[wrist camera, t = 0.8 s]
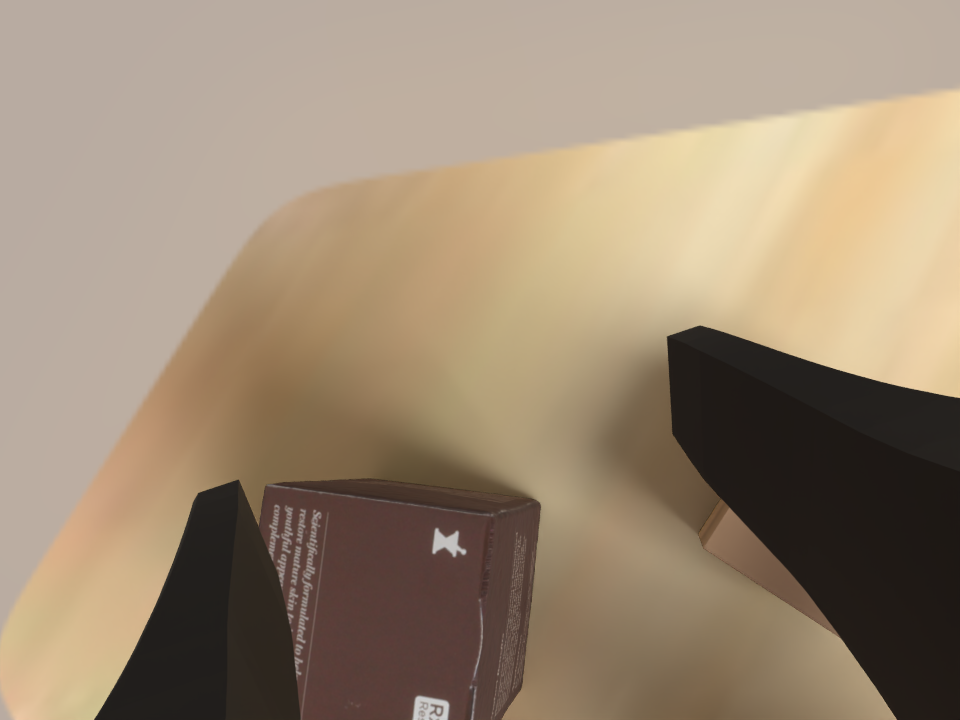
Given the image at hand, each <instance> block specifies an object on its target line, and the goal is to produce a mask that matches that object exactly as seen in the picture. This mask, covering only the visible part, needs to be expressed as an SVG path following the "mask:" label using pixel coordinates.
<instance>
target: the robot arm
mask: <svg viewBox="0 0 960 720" xmlns="http://www.w3.org/2000/svg"><path fill="white" fill-rule="evenodd" d="M667 344H668V361H669V379H670V397H671V415H672V432H673V435H674V437H675V438H676V440H677V441H678V443H679V444H680V446H681V447H682V449H683V450H684V452H685V453H686V455H687V456H688V458H689V459H690V461H691V462H692V463H693V465H694V466H695V468H696V469H697V470H698V472H699V473H700V475H701V476H702V477H703V479H704V480H705V481H706V482H707V483H708V484H709V486H710V487H711V488H712V489H713V490H714V491H715V492H716V493H717V494H718V496H719V497H720V498H721V499H722V500H723V501H724V502H725V503H726V504H727V505H728V506H729V508H730V509H731V510H732V511H733V512H734V513H735V514H736V515H737V516H738V517H739V518H740V519H741V521H742V522H743V523H744V524H745V525H746V526H747V527H748V528H749V529H750V530H751V531H752V532H753V533H754V534H755V535H756V537H757V538H758V539H759V540H760V541H761V542H762V543H763V544H764V545H765V546H766V547H767V548H768V549H769V550H770V552H771V553H772V554H773V555H774V556H775V557H776V558H777V559H778V560H779V561H780V562H781V563H782V564H783V565H784V567H785V568H786V569H787V570H788V571H789V572H790V573H791V574H792V576H793V577H794V578H795V579H796V580H797V581H798V583H799V584H800V585H801V586H802V587H803V588H804V590H805V591H806V592H807V593H808V595H809V596H810V597H811V599H812V600H813V601H814V603H815V604H816V605H817V607H818V608H819V609H820V611H821V612H822V613H823V615H824V616H825V617H826V619H827V620H828V621H829V623H830V624H831V625H832V627H833V628H834V629H835V631H836V632H837V633H838V635H839V636H840V637H841V639H842V640H843V642H844V643H845V644H846V646H847V647H848V649H849V650H850V652H851V653H852V654H853V656H854V657H855V659H856V660H857V661H858V663H859V664H860V666H861V667H862V669H863V670H864V671H865V673H866V674H867V676H868V677H869V678H870V680H871V681H872V683H873V684H874V686H875V687H876V688H877V690H878V691H879V693H880V694H881V696H882V697H883V699H884V700H885V702H886V704H887V705H888V707H889V708H890V710H891V711H892V713H893V714H894V716H895V717H896V719H897V720H960V398H955V397H949V396H944V395H939V394H934V393H929V392H924V391H919V390H914V389H909V388H905V387H900V386H896V385H892V384H887V383H883V382H879V381H876V380H872V379H868V378H865V377H861V376H857V375H854V374H850V373H847V372H843V371H840V370H836V369H833V368H830V367H826V366H823V365H820V364H817V363H814V362H810V361H807V360H804V359H801V358H798V357H795V356H792V355H789V354H786V353H783V352H780V351H777V350H774V349H771V348H769V347H766V346H763V345H760V344H757V343H754V342H751V341H748V340H745V339H742V338H739V337H736V336H733V335H730V334H727V333H724V332H721V331H718V330H715V329H711V328H707V327H704V326H697V327H694V328H691V329H688V330H685V331H682V332H679V333H676V334H673V335H670V336H667ZM94 720H301V716H300V706H299V697H298V687H297V677H296V667H295V658H294V648H293V639H292V632H291V627H290V623H289V618H288V614H287V609H286V605H285V601H284V596H283V592H282V588H281V584H280V579H279V575H278V573H277V570H276V568H275V566H274V563H273V561H272V558H271V556H270V553H269V551H268V549H267V546H266V544H265V541H264V539H263V537H262V534H261V532H260V529H259V527H258V525H257V522H256V520H255V517H254V515H253V513H252V510H251V508H250V505H249V503H248V501H247V498H246V496H245V493H244V491H243V489H242V486H241V484H240V481H239V480H236V481H233V482H230V483H227V484H224V485H221V486H218V487H215V488H212V489H209V490H206V491H203V492H200V493H198V495H197V497H196V498H195V500H194V502H193V505H192V508H191V512H190V515H189V518H188V521H187V524H186V527H185V530H184V533H183V536H182V539H181V542H180V545H179V548H178V550H177V553H176V556H175V559H174V561H173V564H172V566H171V569H170V571H169V574H168V576H167V579H166V581H165V584H164V586H163V589H162V591H161V593H160V596H159V598H158V601H157V603H156V605H155V607H154V610H153V612H152V614H151V616H150V618H149V620H148V622H147V624H146V626H145V628H144V631H143V633H142V635H141V637H140V639H139V641H138V643H137V645H136V647H135V649H134V651H133V653H132V655H131V657H130V659H129V661H128V663H127V665H126V666H125V668H124V670H123V672H122V674H121V676H120V677H119V679H118V681H117V683H116V684H115V686H114V688H113V690H112V691H111V693H110V695H109V696H108V698H107V700H106V701H105V703H104V705H103V706H102V708H101V710H100V711H99V713H98V715H97V716H96V718H95V719H94Z"/></svg>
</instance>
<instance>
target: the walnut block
mask: <svg viewBox="0 0 960 720" xmlns="http://www.w3.org/2000/svg"><path fill="white" fill-rule="evenodd" d="M698 535H699V537H700V540H701V543H702V546H703V548H704V549H705V550H707V551H708V552H710V553H711V554H713V555H715V556H716V557H718V558H719V559H721V560H722V561H724V562H725V563H727V564H728V565H730V566H731V567H733V568H734V569H736V570H737V571H739V572H741V573H742V574H744V575H745V576H747V577H748V578H750V579H751V580H753V581H754V582H756V583H757V584H759V585H760V586H762V587H763V588H765V589H767V590H768V591H770V592H771V593H773V594H774V595H776V596H777V597H779V598H780V599H782V600H783V601H785V602H786V603H788V604H789V605H791V606H793V607H794V608H796V609H797V610H799V611H800V612H802V613H803V614H805V615H806V616H808V617H809V618H811V619H812V620H814V621H815V622H817V623H819V624H820V625H822V626H823V627H825V628H826V629H828V630H829V631H831V632H832V633H834V634H835V635H837V636H838V637H840V636H839V635H838V633H837V632H836V631H835V629H834V628H833V627H832V625H831V624H830V623H829V621H828V620H827V619H826V617H825V616H824V615H823V613H822V612H821V611H820V609H819V608H818V607H817V605H816V604H815V603H814V601H813V600H812V599H811V597H810V596H809V595H808V593H807V592H806V591H805V590H804V588H803V587H802V586H801V585H800V584H799V583H798V581H797V580H796V579H795V578H794V577H793V576H792V574H791V573H790V572H789V571H788V570H787V569H786V568H785V567H784V565H783V564H782V563H781V562H780V561H779V560H778V559H777V558H776V557H775V556H774V555H773V554H772V553H771V552H770V550H769V549H768V548H767V547H766V546H765V545H764V544H763V543H762V542H761V541H760V540H759V539H758V538H757V537H756V535H755V534H754V533H753V532H752V531H751V530H750V529H749V528H748V527H747V526H746V525H745V524H744V523H743V522H742V521H741V519H740V518H739V517H738V516H737V515H736V514H735V513H734V512H733V511H732V510H731V509H730V508H729V506H728V505H727V504H726V503H725V502H724V501H723V500H722V499H720V500H719V502H718V504H717V505H716V507H715V508H714V510H713V511H712V513H711V515H710V516H709V518H708V519H707V521H706V522H705V524H704V525H703V527H702V529H701V530H700V532H699V533H698ZM840 638H841V637H840Z"/></svg>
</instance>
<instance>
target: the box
mask: <svg viewBox="0 0 960 720" xmlns="http://www.w3.org/2000/svg"><path fill="white" fill-rule="evenodd" d="M540 511H541V505H540V503H539V502H538V501H536V500H534V499H527V498H520V497H512V496H504V495H498V494H490V493H482V492H475V491H467V490H459V489H451V488H444V487H435V486H426V485H419V484H411V483H402V482H393V481H385V480H376V479H355V480H352V479H349V480H330V481H305V482H283V483H276V484H268V485H266V486H265V490H264V497H263V502H262V509H261V516H260V523H259V529H260V532H261V534H262V537H263V539H264V541H265V544H266V546H267V549H268V551H269V553H270V556H271V558H272V561H273V563H274V566H275V568H276V570H277V573H278V575H279V579H280V584H281V588H282V592H283V596H284V601H285V605H286V609H287V614H288V618H289V623H290V627H291V632H292V639H293V648H294V658H295V667H296V677H297V687H298V697H299V706H300V716H301V720H501V718H502V717H503V715H504V713H505V712H506V710H507V709H508V707H509V706H510V704H511V703H512V701H513V700H514V698H515V697H516V695H517V694H518V693H519V692H520V690H521V687H522V682H523V672H524V662H525V652H526V642H527V635H528V626H529V617H530V608H531V601H532V589H533V579H534V572H535V560H536V549H537V541H538V529H539V521H540Z"/></svg>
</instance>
